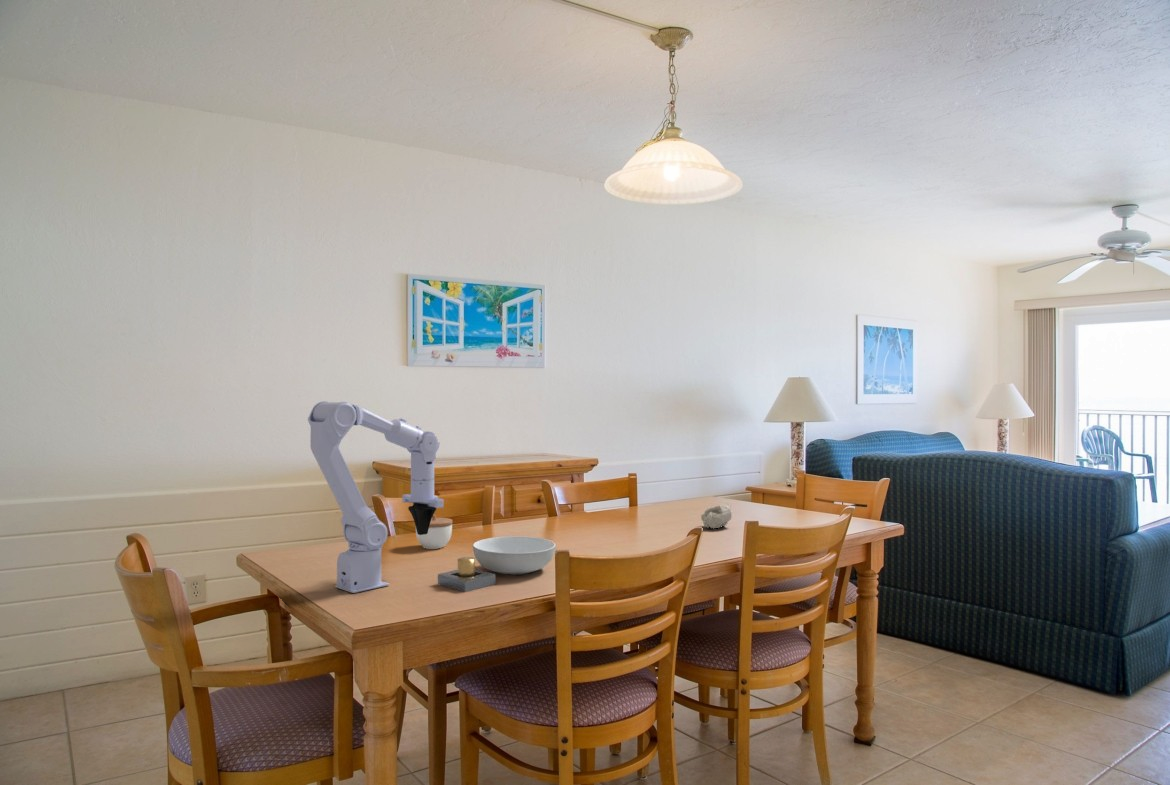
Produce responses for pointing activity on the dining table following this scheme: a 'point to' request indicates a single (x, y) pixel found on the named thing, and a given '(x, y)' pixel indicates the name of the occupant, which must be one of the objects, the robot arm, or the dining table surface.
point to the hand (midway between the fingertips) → (422, 534)
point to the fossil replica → (716, 516)
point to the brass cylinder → (466, 567)
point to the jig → (466, 580)
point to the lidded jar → (436, 533)
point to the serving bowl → (514, 554)
